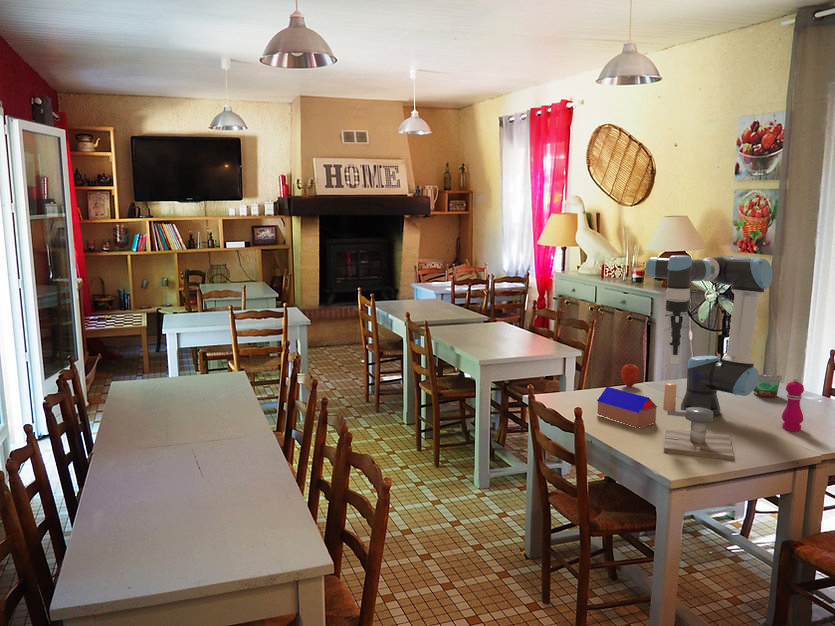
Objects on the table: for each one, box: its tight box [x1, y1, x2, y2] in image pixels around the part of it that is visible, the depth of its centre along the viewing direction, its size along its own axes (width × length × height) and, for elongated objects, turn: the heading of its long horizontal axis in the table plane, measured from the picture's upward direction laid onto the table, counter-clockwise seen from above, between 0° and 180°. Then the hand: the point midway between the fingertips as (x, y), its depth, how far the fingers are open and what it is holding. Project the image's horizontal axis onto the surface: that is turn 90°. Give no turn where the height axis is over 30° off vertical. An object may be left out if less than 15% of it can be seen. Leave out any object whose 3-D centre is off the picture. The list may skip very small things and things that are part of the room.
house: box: [596, 386, 658, 429], centre depth 271 cm, size 12×20×12 cm, turn 36°
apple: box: [620, 363, 640, 388], centre depth 320 cm, size 9×8×11 cm
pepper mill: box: [781, 377, 805, 432], centre depth 259 cm, size 7×7×20 cm
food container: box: [752, 373, 783, 399], centre depth 302 cm, size 12×6×10 cm, turn 73°
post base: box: [663, 421, 735, 461], centre depth 242 cm, size 22×22×10 cm
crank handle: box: [662, 382, 714, 424], centre depth 242 cm, size 16×9×12 cm, turn 69°
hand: (674, 359), depth 241 cm, fingers open, 13 cm apart
